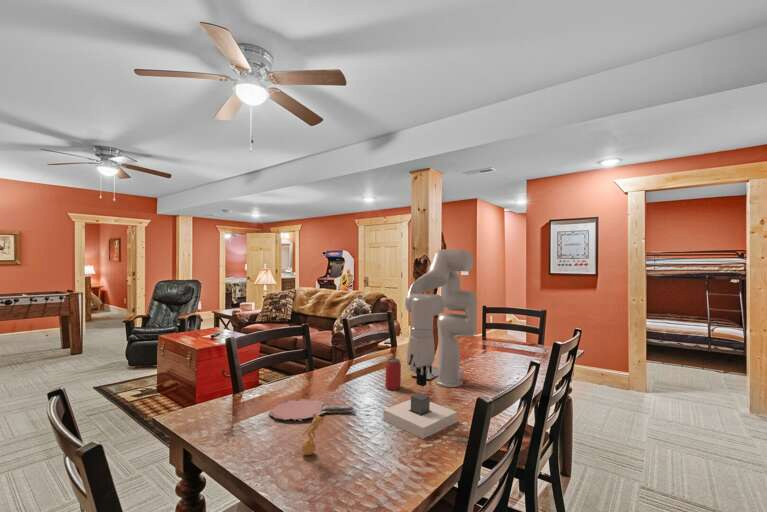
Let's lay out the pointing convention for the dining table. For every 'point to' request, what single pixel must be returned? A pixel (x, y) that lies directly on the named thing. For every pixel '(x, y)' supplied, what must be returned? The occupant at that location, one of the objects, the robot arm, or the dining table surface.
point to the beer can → (393, 374)
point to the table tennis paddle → (305, 409)
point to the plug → (420, 404)
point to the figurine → (309, 444)
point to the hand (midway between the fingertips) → (421, 384)
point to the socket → (420, 419)
